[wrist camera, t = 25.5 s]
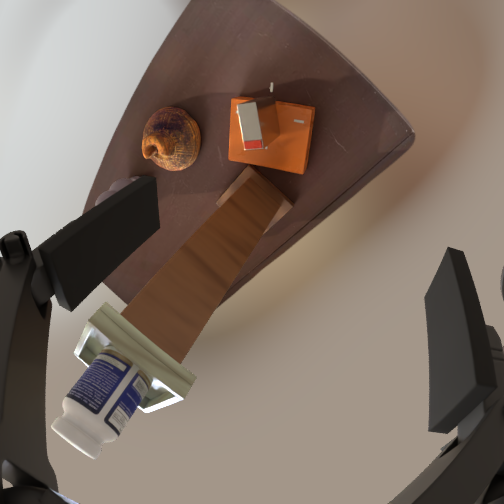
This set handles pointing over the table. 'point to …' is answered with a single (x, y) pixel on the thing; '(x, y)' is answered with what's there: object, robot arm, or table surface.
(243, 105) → the steel brick red tip
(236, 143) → the orange flat square block
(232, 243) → the brown wooden square column
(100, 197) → the cat figurine
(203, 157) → the table surface
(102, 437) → the pill bottle
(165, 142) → the brown rounded piece
